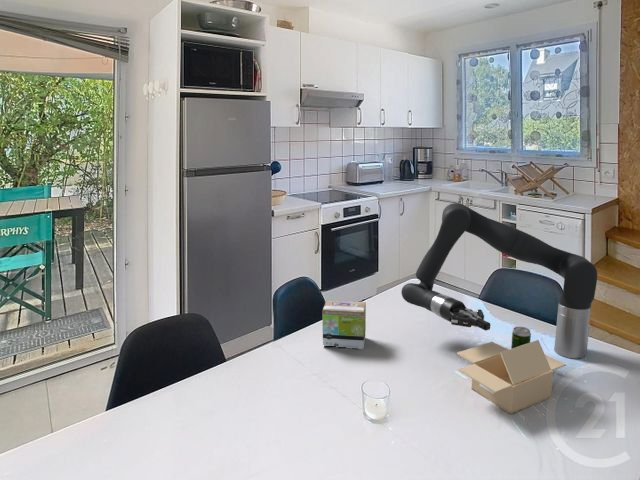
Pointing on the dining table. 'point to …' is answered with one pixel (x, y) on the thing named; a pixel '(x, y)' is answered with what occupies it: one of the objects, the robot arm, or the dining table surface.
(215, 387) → the dining table surface
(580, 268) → the robot arm
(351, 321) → the tea box
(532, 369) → the flap
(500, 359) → the carton
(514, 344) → the beer can
